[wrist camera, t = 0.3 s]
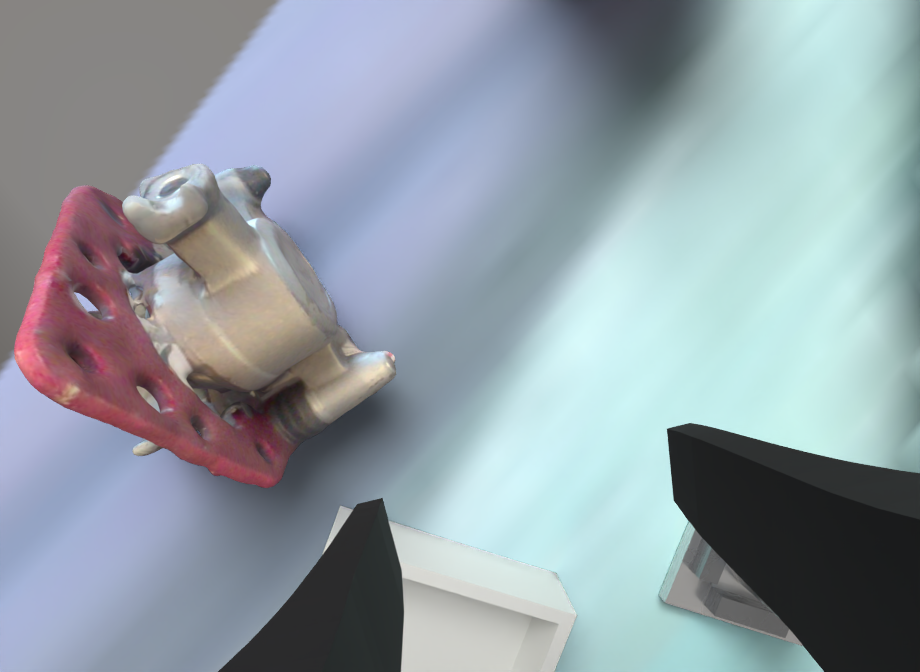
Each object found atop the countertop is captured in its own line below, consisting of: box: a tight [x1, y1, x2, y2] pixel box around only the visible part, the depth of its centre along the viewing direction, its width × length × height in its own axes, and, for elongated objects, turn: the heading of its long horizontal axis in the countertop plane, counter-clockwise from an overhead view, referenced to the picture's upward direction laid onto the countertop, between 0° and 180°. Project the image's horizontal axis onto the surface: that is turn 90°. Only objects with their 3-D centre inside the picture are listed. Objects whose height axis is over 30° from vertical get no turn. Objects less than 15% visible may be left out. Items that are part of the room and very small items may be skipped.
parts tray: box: [322, 506, 577, 672], centre depth 21 cm, size 11×11×3 cm
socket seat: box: [659, 522, 802, 646], centre depth 23 cm, size 8×8×1 cm
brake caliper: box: [14, 164, 396, 488], centre depth 16 cm, size 11×11×12 cm
